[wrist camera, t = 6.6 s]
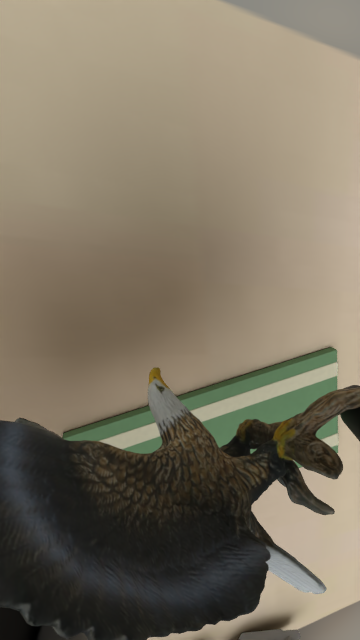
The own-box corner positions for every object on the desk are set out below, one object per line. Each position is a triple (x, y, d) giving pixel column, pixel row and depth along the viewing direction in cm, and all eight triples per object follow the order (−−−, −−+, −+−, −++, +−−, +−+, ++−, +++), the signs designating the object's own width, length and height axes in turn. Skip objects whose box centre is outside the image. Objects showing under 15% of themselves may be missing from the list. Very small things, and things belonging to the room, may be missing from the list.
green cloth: (105, 535, 23) (106, 544, 23) (63, 432, 20) (62, 439, 19) (333, 448, 27) (338, 453, 26) (331, 346, 23) (337, 350, 23)
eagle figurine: (276, 281, 10) (-89, 322, 6) (513, 534, 5) (-244, 1387, 1) (206, 404, 15) (-11, 472, 11) (299, 582, 11) (4, 800, 7)
